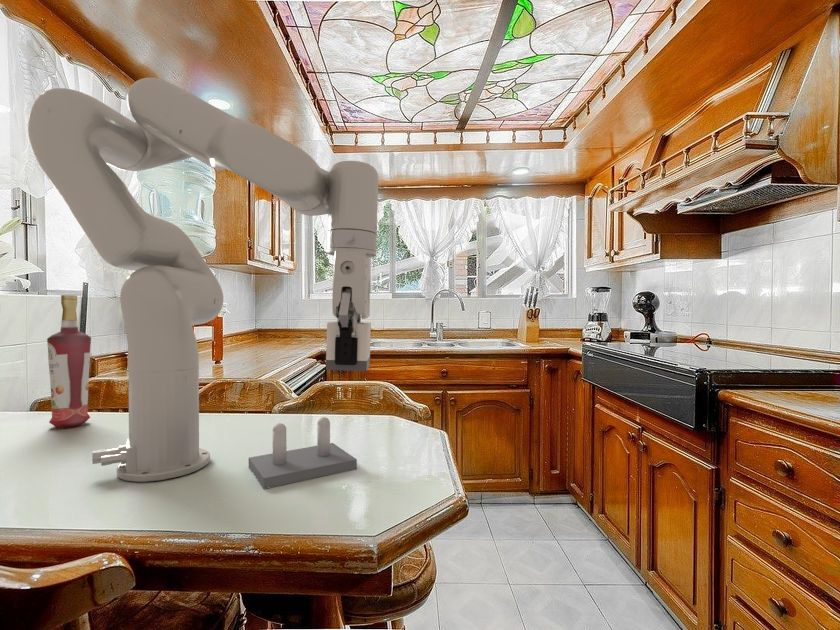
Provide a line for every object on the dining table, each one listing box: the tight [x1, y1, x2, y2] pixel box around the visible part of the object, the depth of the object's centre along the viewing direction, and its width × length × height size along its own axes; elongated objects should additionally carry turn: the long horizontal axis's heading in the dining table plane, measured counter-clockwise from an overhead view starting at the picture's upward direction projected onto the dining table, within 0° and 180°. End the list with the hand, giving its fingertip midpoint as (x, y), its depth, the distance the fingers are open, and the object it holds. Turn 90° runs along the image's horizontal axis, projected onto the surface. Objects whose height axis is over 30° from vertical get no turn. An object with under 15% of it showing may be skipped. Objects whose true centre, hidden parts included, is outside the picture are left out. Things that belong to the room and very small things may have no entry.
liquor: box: [46, 294, 92, 429], centre depth 93 cm, size 7×7×28 cm
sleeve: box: [325, 321, 372, 372], centre depth 67 cm, size 6×6×7 cm
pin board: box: [248, 416, 358, 489], centre depth 68 cm, size 14×10×8 cm
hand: (348, 360), depth 67 cm, fingers closed on sleeve, 6 cm apart
